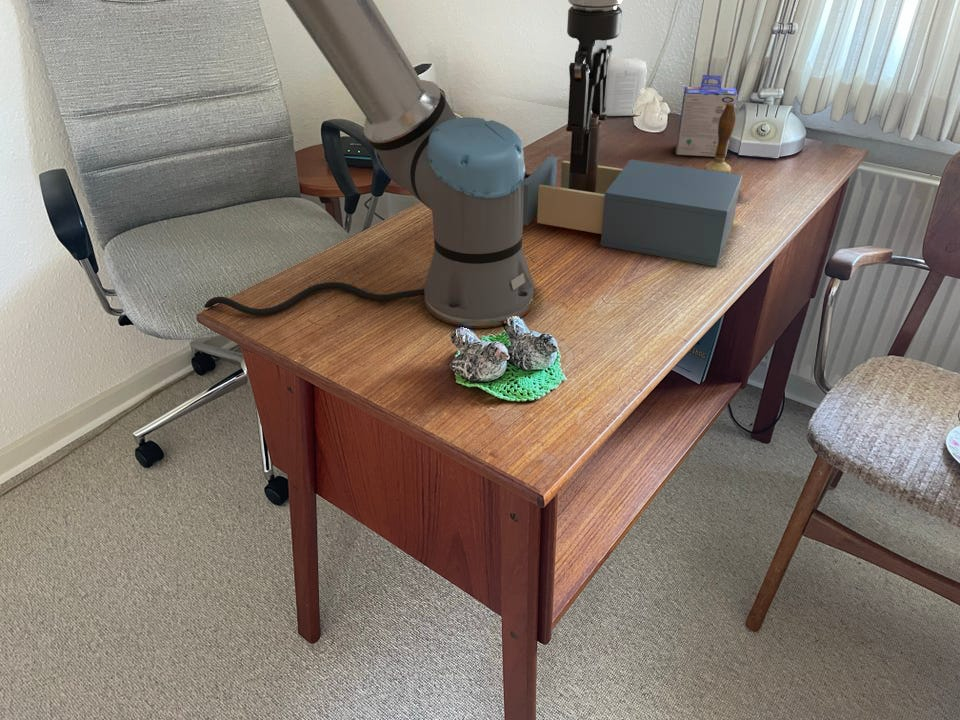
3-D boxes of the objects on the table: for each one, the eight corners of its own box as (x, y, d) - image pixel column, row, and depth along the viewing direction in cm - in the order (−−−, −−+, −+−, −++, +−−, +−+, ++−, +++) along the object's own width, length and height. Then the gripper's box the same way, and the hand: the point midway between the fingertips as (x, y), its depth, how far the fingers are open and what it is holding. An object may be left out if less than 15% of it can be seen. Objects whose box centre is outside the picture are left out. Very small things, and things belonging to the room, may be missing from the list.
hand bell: (711, 183, 133) (727, 93, 124) (747, 198, 127) (766, 105, 118) (678, 193, 129) (692, 102, 120) (713, 209, 124) (731, 114, 114)
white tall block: (639, 110, 168) (645, 54, 161) (643, 116, 165) (650, 59, 158) (595, 112, 168) (599, 56, 161) (598, 118, 165) (603, 60, 157)
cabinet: (600, 245, 113) (604, 192, 108) (625, 209, 124) (630, 159, 119) (716, 266, 107) (727, 211, 102) (732, 226, 118) (742, 174, 113)
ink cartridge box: (725, 148, 147) (739, 74, 139) (727, 158, 143) (741, 82, 134) (675, 146, 149) (686, 72, 140) (675, 155, 145) (686, 80, 136)
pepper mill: (573, 215, 117) (579, 113, 108) (563, 204, 121) (569, 105, 111) (598, 212, 118) (607, 110, 109) (587, 201, 122) (595, 102, 112)
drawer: (495, 219, 119) (495, 179, 115) (526, 189, 129) (526, 152, 125) (620, 241, 112) (624, 200, 108) (641, 208, 122) (646, 168, 118)
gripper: (603, 19, 94) (589, 190, 108) (637, -3, 107) (621, 152, 120) (548, 15, 96) (542, 183, 110) (588, -6, 109) (578, 146, 123)
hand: (583, 166), depth 115 cm, fingers closed on pepper mill, 4 cm apart
